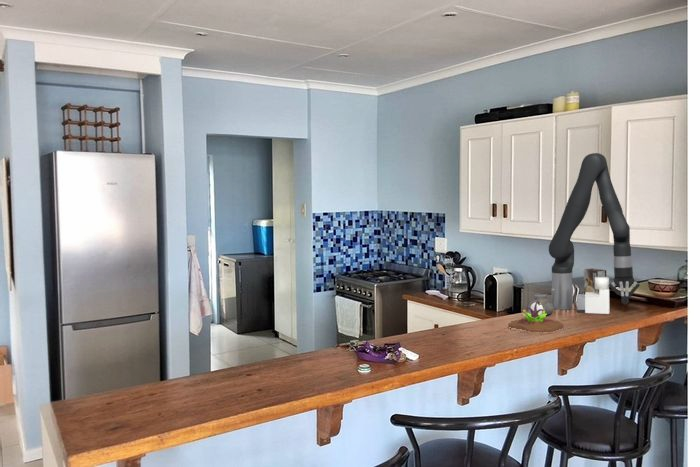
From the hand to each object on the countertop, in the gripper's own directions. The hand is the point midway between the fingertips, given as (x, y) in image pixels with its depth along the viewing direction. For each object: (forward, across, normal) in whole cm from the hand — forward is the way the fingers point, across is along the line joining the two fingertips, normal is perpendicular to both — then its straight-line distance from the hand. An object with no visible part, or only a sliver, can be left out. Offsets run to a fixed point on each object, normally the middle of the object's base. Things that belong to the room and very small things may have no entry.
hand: (625, 304), depth 256 cm
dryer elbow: (+3, -12, 0) cm, 12 cm away
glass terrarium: (+3, -34, -14) cm, 37 cm away
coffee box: (+4, -13, +26) cm, 29 cm away
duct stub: (+4, -16, 0) cm, 16 cm away
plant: (+3, -34, -37) cm, 50 cm away
